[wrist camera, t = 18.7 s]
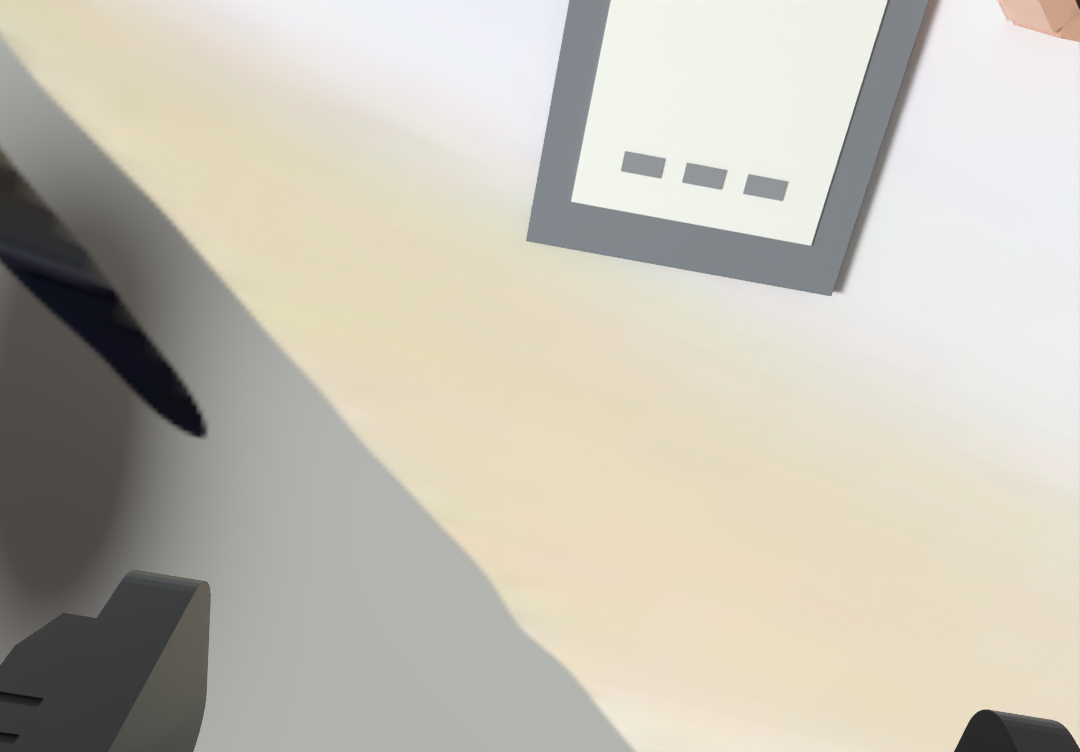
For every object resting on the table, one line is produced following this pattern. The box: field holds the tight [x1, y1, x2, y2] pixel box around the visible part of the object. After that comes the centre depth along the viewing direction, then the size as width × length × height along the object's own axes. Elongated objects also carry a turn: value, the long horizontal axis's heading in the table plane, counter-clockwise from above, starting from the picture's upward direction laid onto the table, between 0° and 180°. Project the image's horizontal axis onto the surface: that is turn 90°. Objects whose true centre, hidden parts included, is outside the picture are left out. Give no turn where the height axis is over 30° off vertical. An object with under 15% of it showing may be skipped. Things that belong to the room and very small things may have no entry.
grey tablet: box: [526, 0, 928, 296], centre depth 38 cm, size 17×13×1 cm
